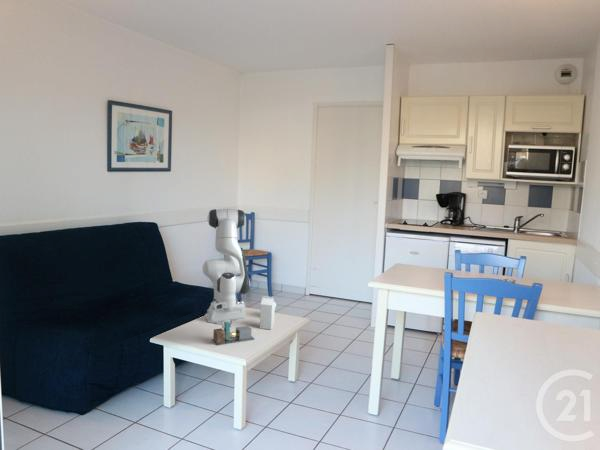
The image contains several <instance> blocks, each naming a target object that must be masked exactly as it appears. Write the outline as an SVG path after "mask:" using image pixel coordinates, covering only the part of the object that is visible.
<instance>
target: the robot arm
mask: <svg viewBox="0 0 600 450" xmlns="http://www.w3.org/2000/svg"><path fill="white" fill-rule="evenodd" d="M246 218H247V217H246V214H245V211H244V210H241V209H232V208H223V209H222V208H221V209H211V210H209V211H208V214H207V223H208V225H209V226H210V227H212V228H214V229H216V230H215V244H214V245H215V250H216V251H217V252H218V253H219V254H222V255H223V256H224V258H211V259H207V260H205V261H204V262H203V264H202V273H203V275H205V276H206V277H207V278H208V279H209V280H210V281H211V283H212V286H213V299H212V302H210V306H209V307H208V309H207V310H206V311H207V312H206V313H205V314H204V317H205V319H206V322H207V323H210V324H212V323H213V324H218V325H221V328H222V329H224V328H226V325H225V324H224V322H226V321H228V322H229V323H230V328H232V327H233V324H234V322H235V321H236V320H240V319H241V320H242V319H244V318H245V317H246V309H245V308H246V303H245V301H236V300H237V298H236V294H238V295H239V294H240V295H241V294H242V295H245V294H248V292H249V291H250V290H251V289H250V288H251V281H250V280H251V279H250V278H249V274H248V267H247V266H248V265H247V261H246V256H245V250H244V248H243V247H241V246H240V244H239V241H238V240H239V239H238V229H239V228H241V227H244V226H245V223H246V220H247V219H246Z"/></svg>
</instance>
